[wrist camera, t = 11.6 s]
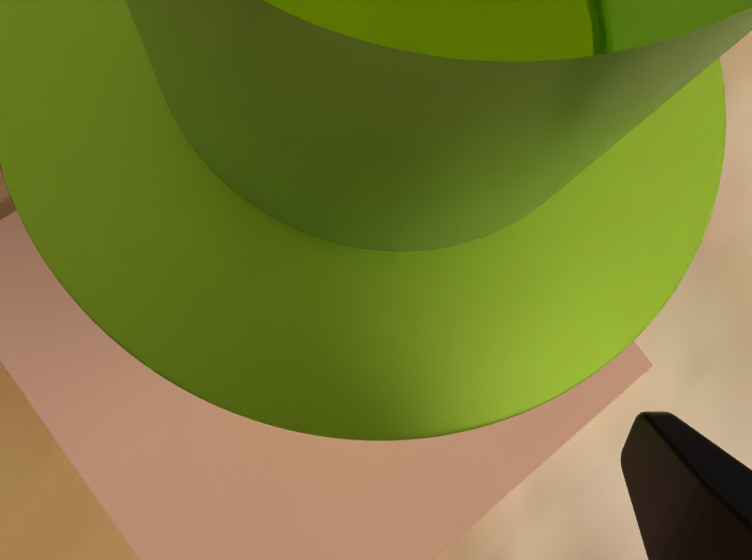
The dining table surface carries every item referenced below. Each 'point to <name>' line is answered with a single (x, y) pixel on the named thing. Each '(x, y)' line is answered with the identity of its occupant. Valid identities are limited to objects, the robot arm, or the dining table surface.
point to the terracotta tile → (256, 447)
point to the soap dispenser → (367, 191)
